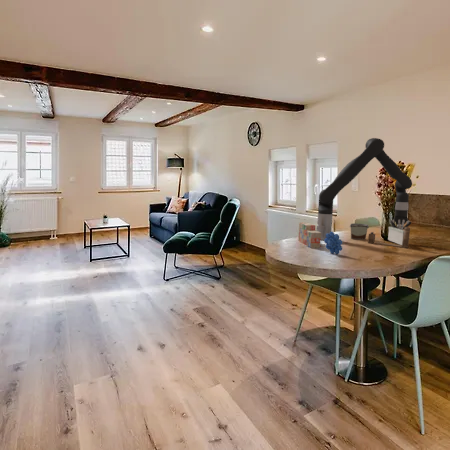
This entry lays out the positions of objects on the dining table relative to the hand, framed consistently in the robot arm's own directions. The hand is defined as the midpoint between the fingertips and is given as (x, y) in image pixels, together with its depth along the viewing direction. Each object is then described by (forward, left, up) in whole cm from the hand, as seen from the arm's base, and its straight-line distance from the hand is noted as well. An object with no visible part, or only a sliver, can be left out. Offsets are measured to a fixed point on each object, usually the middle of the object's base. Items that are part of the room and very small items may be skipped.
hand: (399, 235), depth 224 cm
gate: (-7, 0, -4) cm, 8 cm away
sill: (-15, +1, -5) cm, 15 cm away
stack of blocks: (-53, +34, -5) cm, 64 cm away
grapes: (-66, +12, -5) cm, 67 cm away
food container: (-9, +24, -5) cm, 26 cm away
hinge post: (-15, -9, -5) cm, 18 cm away
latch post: (-17, +11, -5) cm, 21 cm away
